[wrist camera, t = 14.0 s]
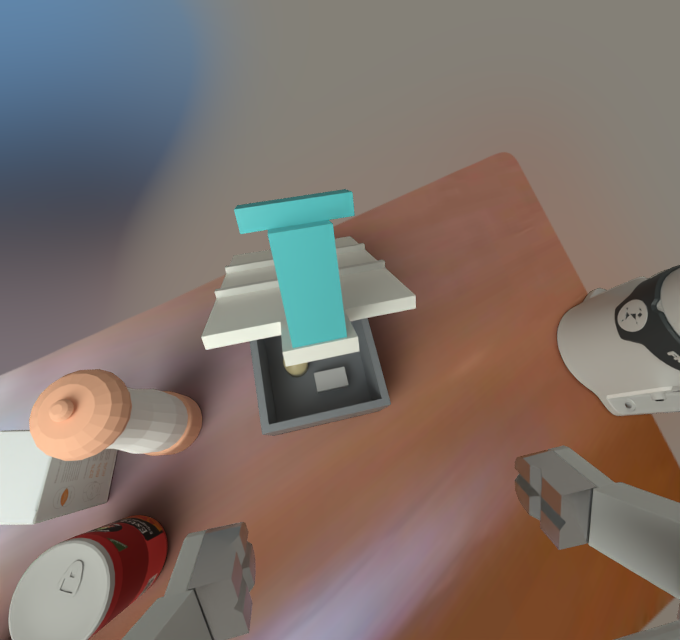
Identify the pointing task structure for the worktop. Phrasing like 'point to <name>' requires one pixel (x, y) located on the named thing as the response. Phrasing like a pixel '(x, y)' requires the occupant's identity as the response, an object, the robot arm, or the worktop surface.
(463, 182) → the worktop surface
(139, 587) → the canned food
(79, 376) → the pepper shaker
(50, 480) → the small box
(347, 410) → the tub
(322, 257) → the lid
